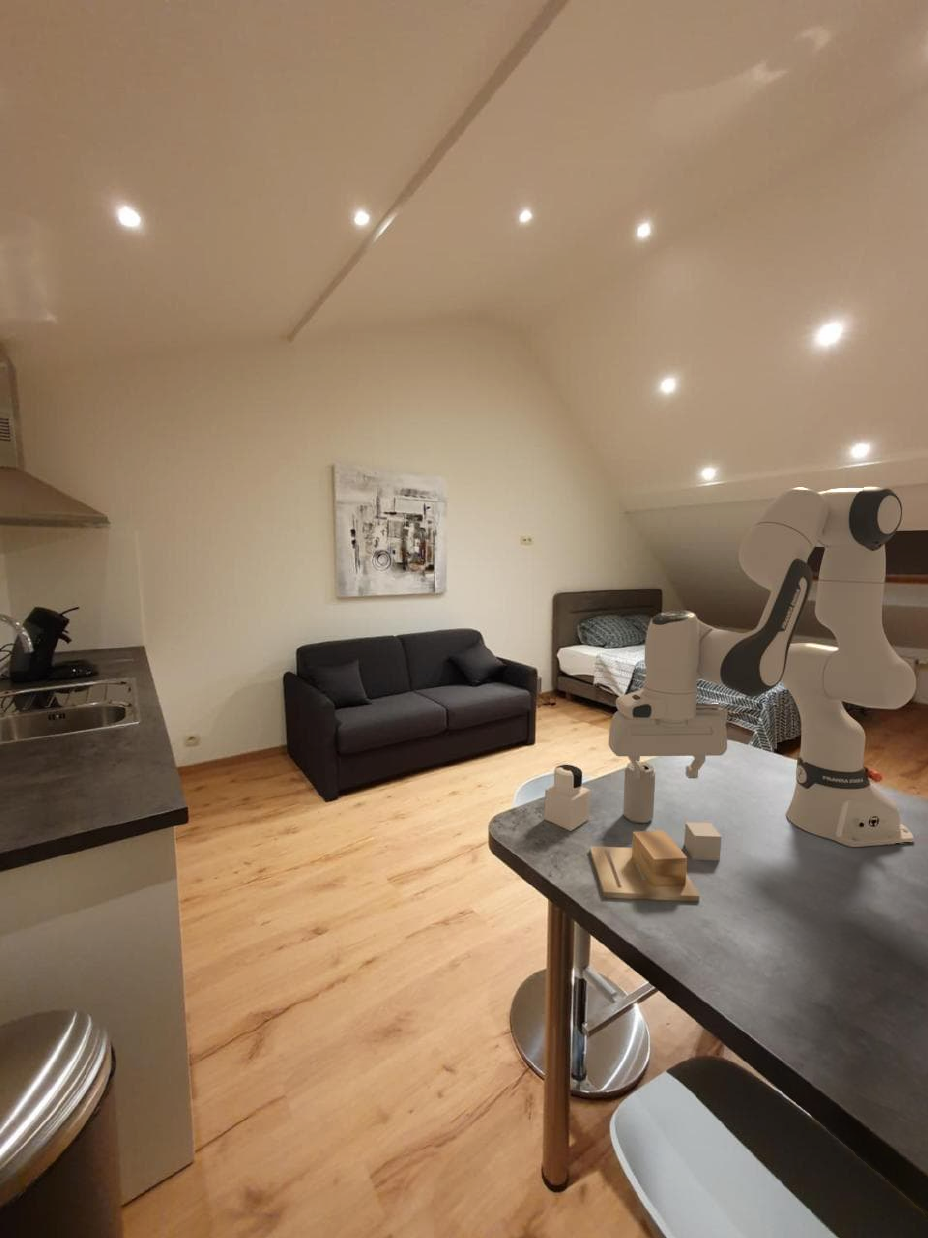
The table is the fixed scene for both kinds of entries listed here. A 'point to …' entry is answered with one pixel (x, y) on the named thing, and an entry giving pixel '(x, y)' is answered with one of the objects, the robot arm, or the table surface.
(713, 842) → the top cube
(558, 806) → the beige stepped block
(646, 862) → the oak block
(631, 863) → the plate
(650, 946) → the table surface
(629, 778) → the beverage can
